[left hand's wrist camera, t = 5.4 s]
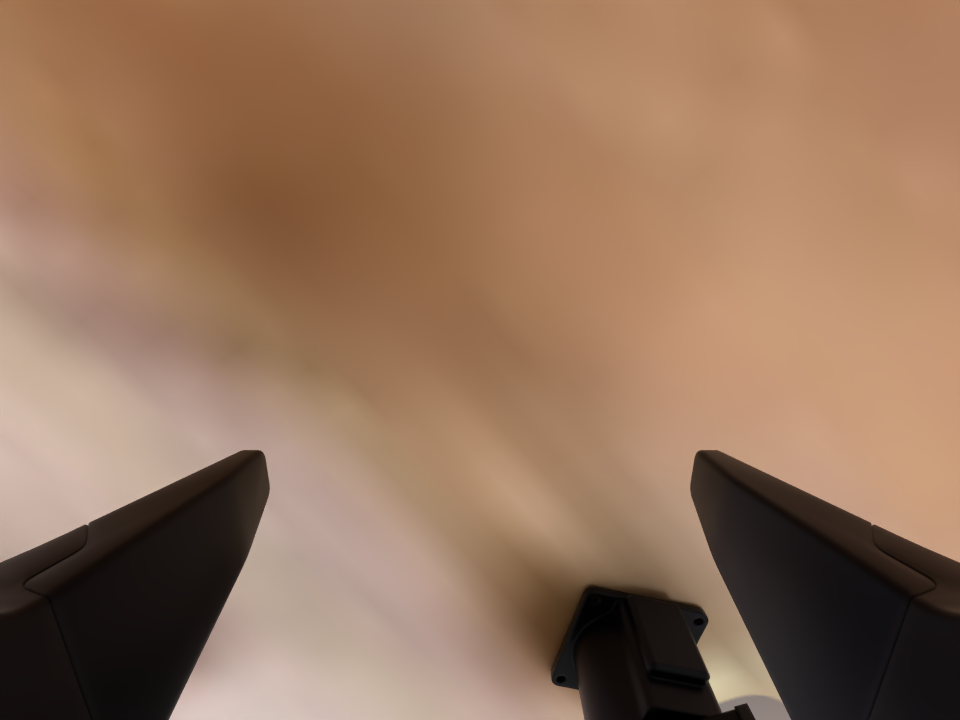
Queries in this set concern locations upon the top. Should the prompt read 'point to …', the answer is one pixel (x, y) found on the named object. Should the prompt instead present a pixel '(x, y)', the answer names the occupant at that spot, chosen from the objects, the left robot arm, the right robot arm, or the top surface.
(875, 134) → the top surface
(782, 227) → the top surface
